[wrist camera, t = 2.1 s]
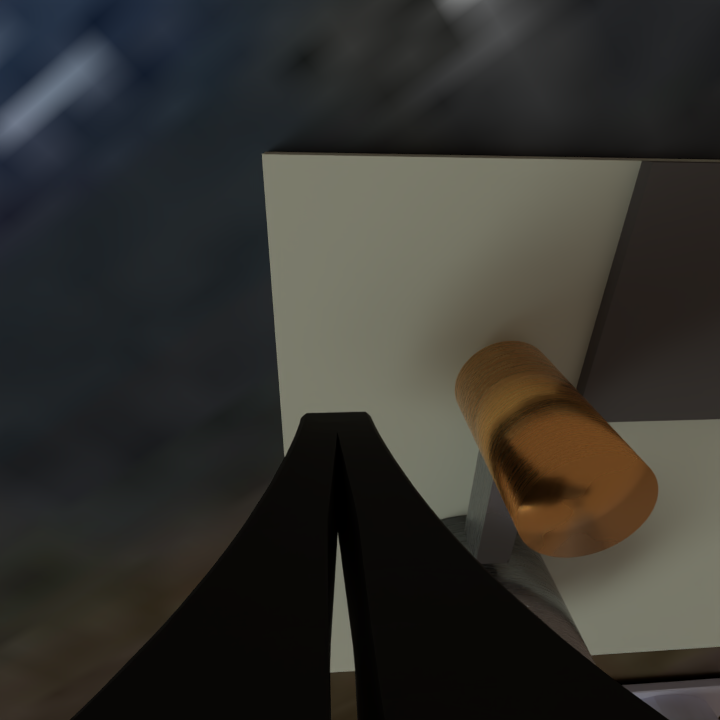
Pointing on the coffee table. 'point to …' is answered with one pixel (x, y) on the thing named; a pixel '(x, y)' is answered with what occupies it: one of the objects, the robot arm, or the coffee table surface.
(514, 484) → the lever
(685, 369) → the rubber pad
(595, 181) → the board
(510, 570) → the cylinder
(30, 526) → the coffee table surface
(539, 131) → the coffee table surface
